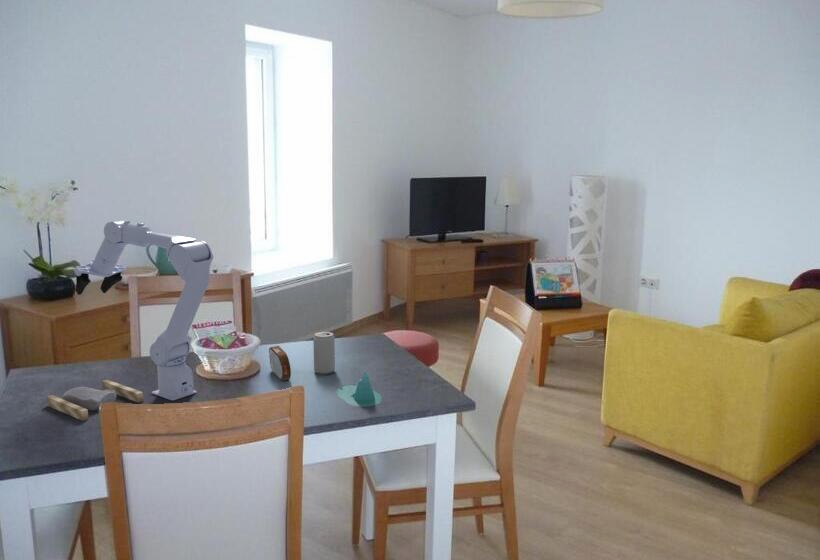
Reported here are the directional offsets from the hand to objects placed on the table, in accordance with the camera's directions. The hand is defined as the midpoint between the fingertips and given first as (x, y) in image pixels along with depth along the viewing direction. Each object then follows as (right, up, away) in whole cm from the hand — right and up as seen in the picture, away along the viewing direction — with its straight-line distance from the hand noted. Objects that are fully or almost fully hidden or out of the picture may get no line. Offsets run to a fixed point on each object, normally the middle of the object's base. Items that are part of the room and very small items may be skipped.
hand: (90, 291), depth 200 cm
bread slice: (+53, -26, +8) cm, 59 cm away
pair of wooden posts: (+8, -29, -15) cm, 34 cm away
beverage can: (+66, -25, +12) cm, 71 cm away
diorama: (+78, -29, -7) cm, 83 cm away
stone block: (+7, -30, -15) cm, 34 cm away
